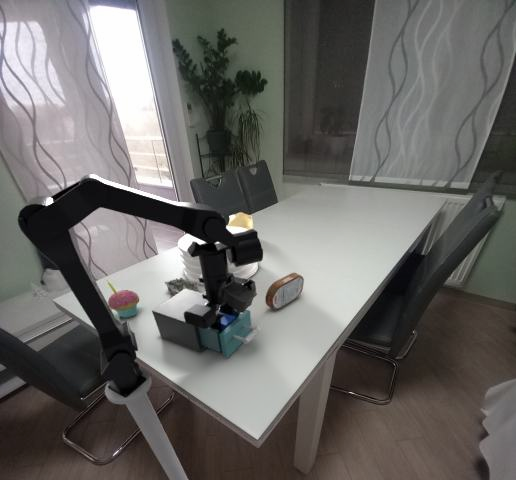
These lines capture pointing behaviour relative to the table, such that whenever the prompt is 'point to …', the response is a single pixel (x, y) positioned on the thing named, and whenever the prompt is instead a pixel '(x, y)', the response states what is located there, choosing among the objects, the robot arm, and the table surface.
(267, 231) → the table surface
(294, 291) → the tin
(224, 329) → the blue toy brick
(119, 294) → the cupcake
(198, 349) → the cabinet
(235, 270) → the plate stack
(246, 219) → the sculpture
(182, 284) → the egg carton
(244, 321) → the drawer
